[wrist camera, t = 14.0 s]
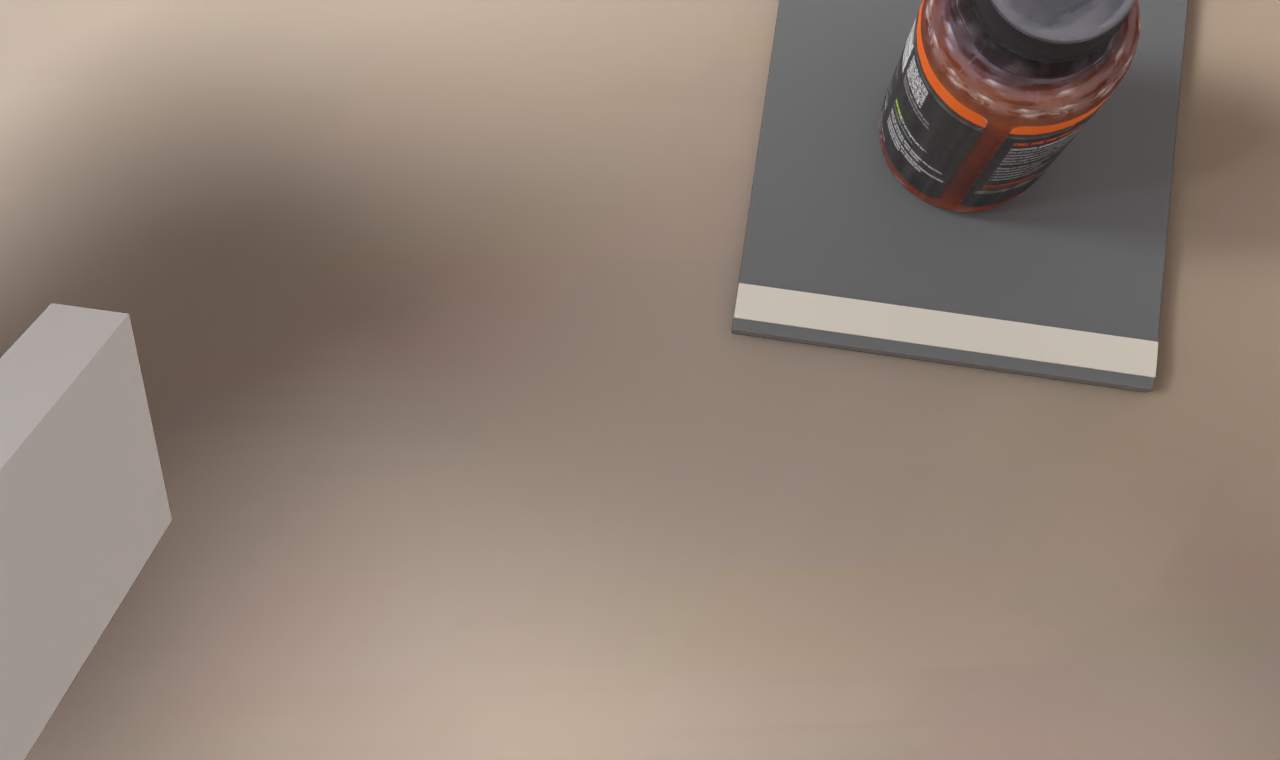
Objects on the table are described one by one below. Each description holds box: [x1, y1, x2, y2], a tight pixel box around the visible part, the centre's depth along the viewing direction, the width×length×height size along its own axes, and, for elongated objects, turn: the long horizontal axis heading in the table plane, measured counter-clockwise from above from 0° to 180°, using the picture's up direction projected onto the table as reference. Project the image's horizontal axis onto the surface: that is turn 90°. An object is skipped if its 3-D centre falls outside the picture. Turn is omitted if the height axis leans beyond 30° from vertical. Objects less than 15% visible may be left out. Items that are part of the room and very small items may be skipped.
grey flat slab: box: [732, 0, 1188, 392], centre depth 41 cm, size 14×16×1 cm
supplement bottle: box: [878, 0, 1141, 212], centre depth 35 cm, size 6×6×11 cm
